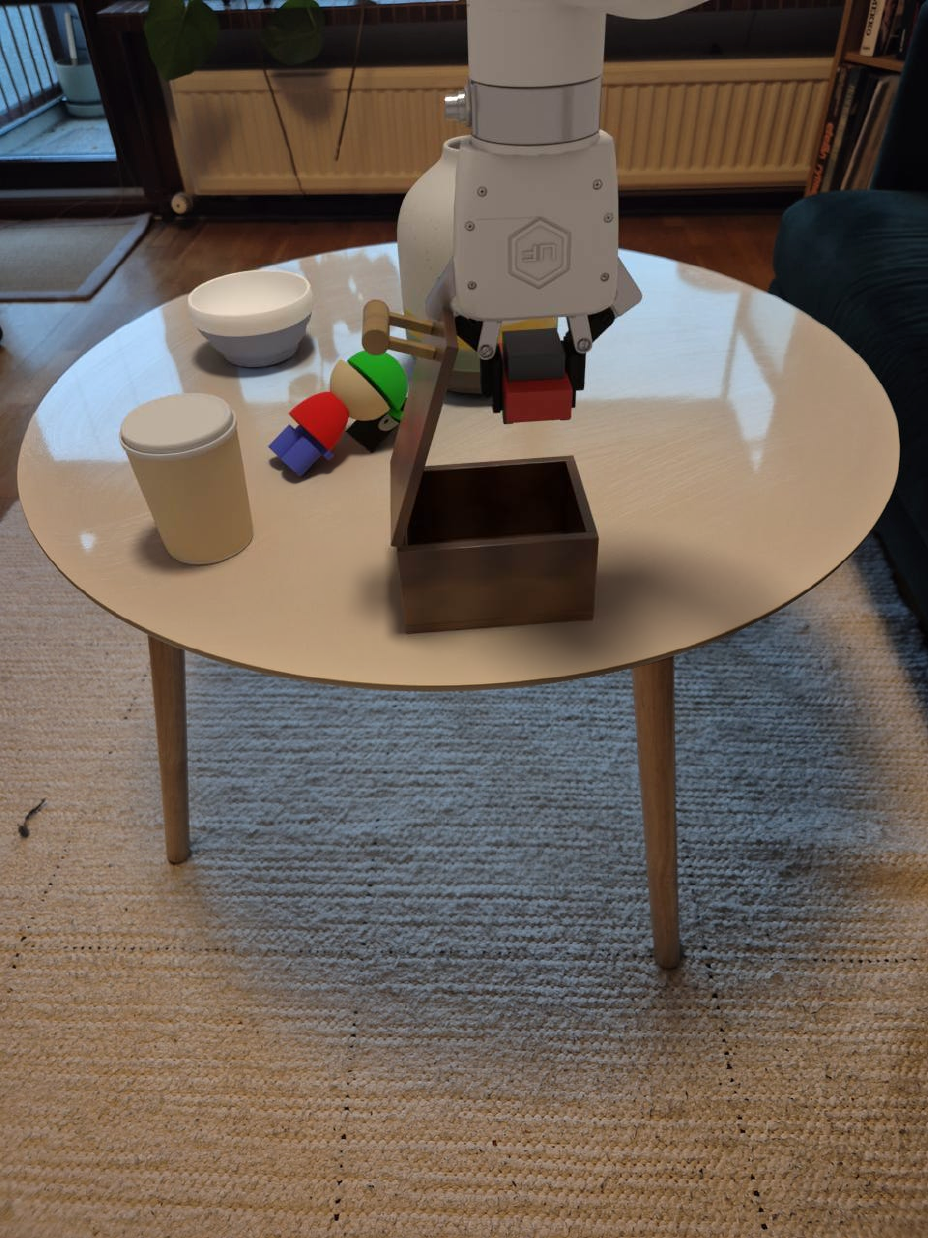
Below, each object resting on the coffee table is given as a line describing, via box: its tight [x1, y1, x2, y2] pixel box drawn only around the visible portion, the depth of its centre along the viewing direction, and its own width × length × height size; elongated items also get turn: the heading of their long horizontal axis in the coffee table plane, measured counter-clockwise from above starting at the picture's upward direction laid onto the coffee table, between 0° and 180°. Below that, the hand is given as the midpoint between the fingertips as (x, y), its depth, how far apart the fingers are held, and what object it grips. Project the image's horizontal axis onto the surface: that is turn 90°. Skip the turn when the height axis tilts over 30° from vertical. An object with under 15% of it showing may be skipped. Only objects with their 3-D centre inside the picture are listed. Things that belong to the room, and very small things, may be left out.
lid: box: [361, 277, 459, 548], centre depth 62 cm, size 15×12×6 cm
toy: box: [267, 349, 409, 478], centre depth 88 cm, size 8×8×15 cm
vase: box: [396, 134, 559, 395], centre depth 94 cm, size 17×17×24 cm
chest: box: [396, 454, 600, 634], centre depth 71 cm, size 15×12×8 cm
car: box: [498, 328, 573, 425], centre depth 62 cm, size 8×5×5 cm, turn 4°
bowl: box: [187, 269, 315, 368], centre depth 106 cm, size 14×14×8 cm
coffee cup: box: [118, 392, 254, 565], centre depth 75 cm, size 9×9×12 cm
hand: (531, 399), depth 63 cm, fingers closed on car, 4 cm apart
